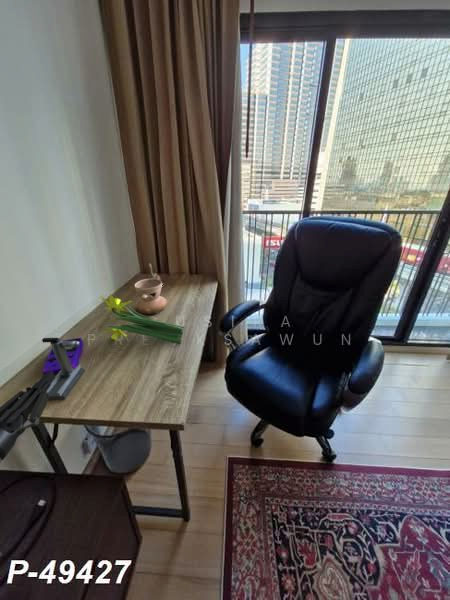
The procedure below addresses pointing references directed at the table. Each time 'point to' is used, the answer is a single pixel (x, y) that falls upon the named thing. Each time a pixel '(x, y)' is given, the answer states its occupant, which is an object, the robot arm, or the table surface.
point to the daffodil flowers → (141, 324)
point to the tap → (62, 354)
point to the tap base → (64, 384)
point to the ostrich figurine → (152, 274)
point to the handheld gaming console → (73, 356)
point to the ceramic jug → (150, 296)
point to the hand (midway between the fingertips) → (51, 374)
